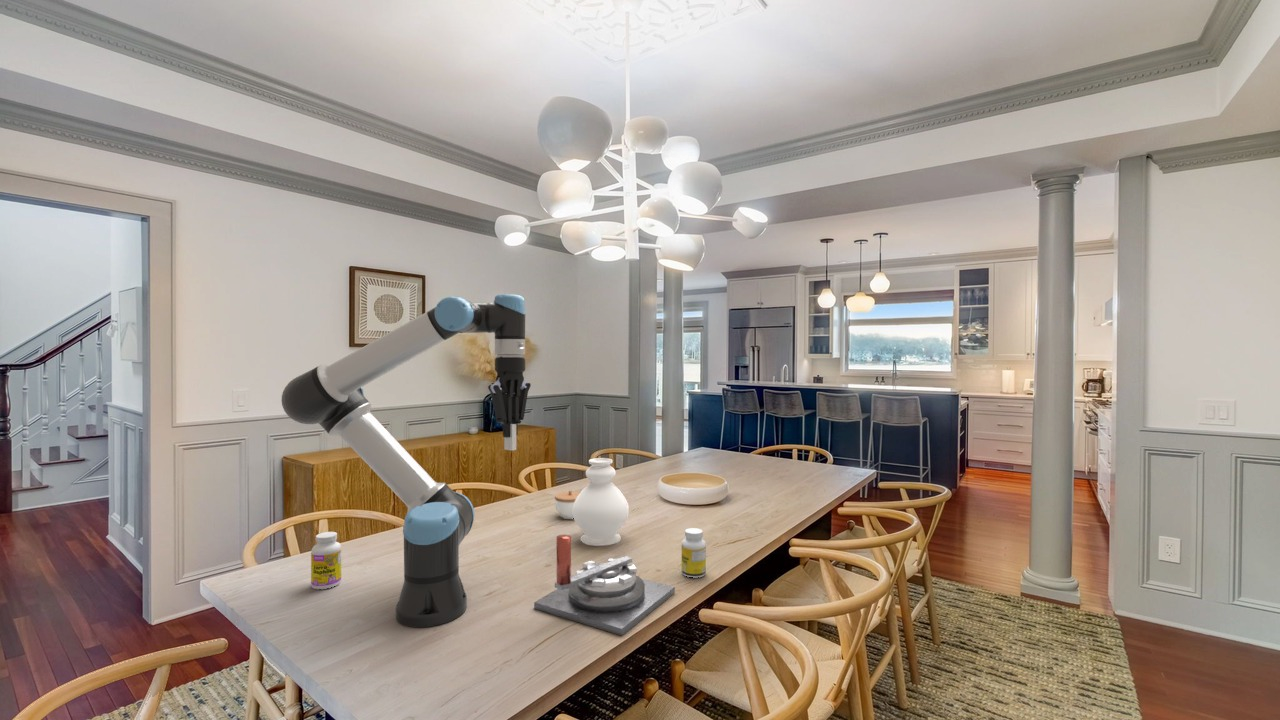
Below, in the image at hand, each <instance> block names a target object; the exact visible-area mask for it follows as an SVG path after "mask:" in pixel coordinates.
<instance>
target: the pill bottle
mask: <svg viewBox="0 0 1280 720" xmlns="http://www.w3.org/2000/svg"><path fill="white" fill-rule="evenodd" d="M703 533H704V531H703V529H701V528H697V527H690V528H686V529H684V537H685V538H683V540H682V541H681V574H682V575H683V576H685V577H686V576H687V577H686V578H689V577H693V578H692V579H699V578H701V577H704V576H705V575H706V572H707V571H706V569H707V568H706V567H707V566H706V565H707V543H706V541H705V540H704V539H703V535H704V534H703ZM698 577H699V578H698Z"/></svg>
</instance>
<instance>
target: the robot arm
mask: <svg viewBox="0 0 1280 720" xmlns="http://www.w3.org/2000/svg"><path fill="white" fill-rule="evenodd" d="M525 303H526V302H525V299H524V296H521V295H519V294H511V293H510V294H497V295H495V297H494V299H493V302H471V301H469V300H467V299H465V298H463V297H459V296H455V295H454V296H447V297H444V298H442V299H441V300H440V301H439V302H438V303H437V304H436V306H435V307H433V308H432V309H429V311H426V312H424V313H422V314H420V315H419V316H417V317H415V318H413V319H412V320H410V321H408V322H406V323H404V324H403V325H400V326H399V327H397V328H395V329H393V330H391V331H389V332H388V333H386V334H384V335H383V336H380V337H379V338H377V339H375V340H373V341H371V342H370V343H368V344H366V345H365V346H362V347H361V348H359V349H357V350H355V351H354V352H351V353H349V354H347V355H346V356H344V357H342V358H340V359H339V360H337V361H335V362H333V363H331V364H330V365H327V364H320V365H318V366H316V367H314V368H312V369H311V370H308V371H307V372H305V373H304V372H303V373H302V374H301V375H298V376H296V377H295V378H293V379H292V380H290V381H289V382H288V383H287V384H286V386H285V387H284V389H283V391H282V394H281V406H282V409H283V411H284V412H285V414H286V415H287V416H288V418H290V419H291V420H293V421H295V422H296V423H299V424H302V425H303V424H304V425H316V424H319V426H321V427H322V428H323V430H324V431H326V433H327V434H328V435H329V436H335V437H336V436H338V437H341V439H343V440H344V441H345V442H346V443H347V445H348V446H349V447H350V448H351V449H352V450H353V451H354V452H355V453H356V454H357V455H358V457H359V458H361V459H362V461H364V463H366V465H367V466H368V467H369V468H370V469H371V470H372V471H373V472H374V473H375V474H376V475H377V477H379V479H380V480H381V481H383V482H384V483H385V485H386V486H387V487H388V488H389V489H390V490H391V491H392V492H393V493H394V494H395V495H396V496H397V497H398V498H399V500H401V502H403V503H404V504H405V506H406V507H407V513H406V515H405V517H404V521H403V526H402V528H403V530H402V533H403V534H402V535H403V573H404V574H403V577H404V578H403V583H402V584H403V585H402V587H401V592H400V593H399V599H398V601H397V604H396V606H395V620H396V621H397V622H398V624H400V625H403V626H406V627H411V628H425V627H426V628H427V627H428V628H429V627H434V626H438V625H442V624H446V623H449V622H451V621H453V620H456V619H458V618H459V617H460V616H462V615H463V614H464V613H465V612H466V610H467V608H468V603H467V602H468V601H467V600H468V599H467V598H468V597H467V593H466V592H465V588H464V585H463V583H462V580H461V577H460V574H459V573H460V572H459V569H460V568H459V567H460V566H459V565H460V564H459V563H460V562H459V561H460V557H459V555H460V551H459V549H460V547H459V546H460V545H461V543H462V542H463V540H464V539H465V537H466V536H467V535H468V534H469V533H470V531H471V530H472V528H473V523H474V521H475V508H474V506H473V504H472V502H471V500H470V499H469V497H468V496H466V495H464V494H463V493H460V492H456V491H455V492H454V490H453V489H452V488H451V487H450V486H449V485H448V484H447V483H446V482H437V481H436V480H434V479H433V478H432V477H431V475H430V474H429V473H428V472H427V471H426V470H425V469H424V468H423V467H422V466H421V464H419V463H418V462H417V460H415V458H413V456H412V455H411V454H410V453H409V452H408V451H407V450H406V448H404V446H403V445H401V443H399V441H398V440H397V439H396V438H395V437H394V436H393V434H391V433H390V432H389V431H388V430H387V428H385V427H384V425H383V424H382V423H381V422H380V421H379V420H378V419H377V418H376V417H375V416H374V415H373V413H372V412H371V410H372V409H371V408H372V404H371V402H370V401H369V400H368V399H367V398H366V396H365V394H364V389H363V387H364V386H366V385H368V384H370V383H372V382H373V381H375V380H376V379H378V378H380V377H383V376H384V375H386V374H387V373H388V372H391V371H393V370H394V369H396V368H398V367H399V366H401V365H403V364H404V363H407V362H409V361H410V360H412V359H414V358H416V357H417V356H419V355H422V353H425V352H426V351H428V350H429V349H433V347H435V346H438V345H439V344H442V342H444V341H446V340H448V339H451V338H452V337H454V336H456V335H457V334H463V333H466V334H470V333H471V334H474V333H476V334H477V333H488V334H489V333H490V334H492V333H494V355H495V356H496V357H495V358H494V371H495V373H496V377H495V381H494V383H493V384H489V385H488V386H487V388H488V391H489V392H490V394H491V399H492V400H491V401H492V404H493V409H494V410H493V411H494V416H495V420H496V421H495V422H497V423H499V424H502V437H503V439H504V443H503V444H504V445H503V446H504V447H503V449H504V450H505V451H511V452H512V451H516V450H517V436H518V434H519V433H518V430H519V429H518V426H519V425H518V424H521V423H522V421H524V418H525V413H526V407H527V401H528V396H529V395H528V394H529V390H530V388H531V383H530V382H527V381H525V377H524V372H526V358H525V357H523V356H524V355H526V306H525V305H526V304H525Z"/></svg>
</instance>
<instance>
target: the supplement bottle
mask: <svg viewBox="0 0 1280 720" xmlns="http://www.w3.org/2000/svg"><path fill="white" fill-rule="evenodd" d="M337 539H338V533H337V532H335V531H325V532H321V533H319V534H316V535H315V542H316V544H315V545H313V546H312V549H311V550H310V551H311V553H310V556H311V557H310V558H311V559H310V561H311V562H310V563H311V564H310V565H311V566H310V569H311V570H310V571H311V572H310V576H311V577H310V584H311V588H312V589H314V590H319V589H321V590H328V589H327V588H329V589H332V588H335V587H337V586H339V584H341V581H342V544H341V543H340V542H338V541H337ZM334 586H335V587H334ZM331 587H332V588H331Z"/></svg>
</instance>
